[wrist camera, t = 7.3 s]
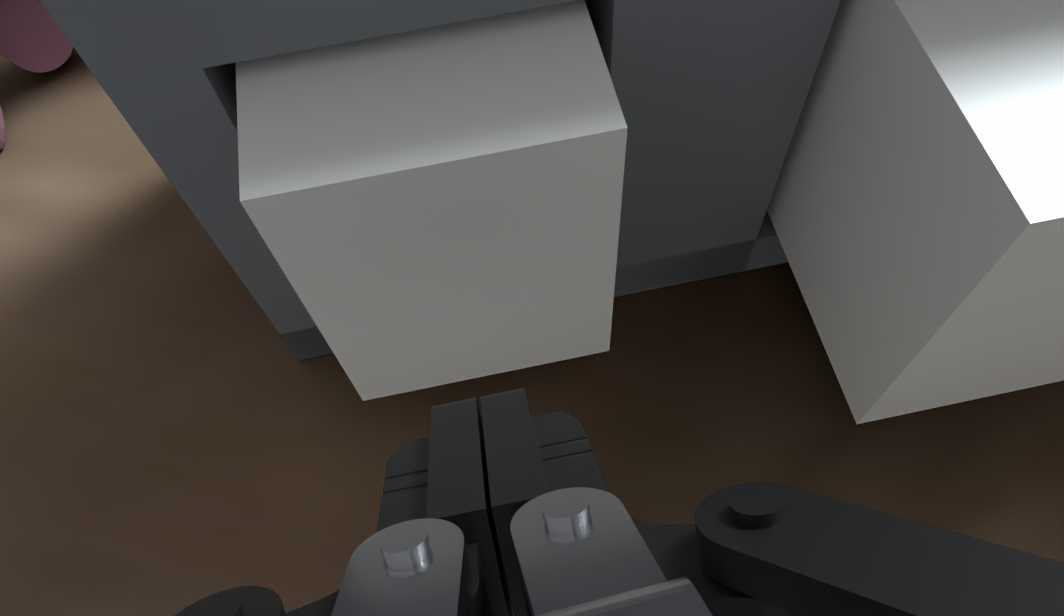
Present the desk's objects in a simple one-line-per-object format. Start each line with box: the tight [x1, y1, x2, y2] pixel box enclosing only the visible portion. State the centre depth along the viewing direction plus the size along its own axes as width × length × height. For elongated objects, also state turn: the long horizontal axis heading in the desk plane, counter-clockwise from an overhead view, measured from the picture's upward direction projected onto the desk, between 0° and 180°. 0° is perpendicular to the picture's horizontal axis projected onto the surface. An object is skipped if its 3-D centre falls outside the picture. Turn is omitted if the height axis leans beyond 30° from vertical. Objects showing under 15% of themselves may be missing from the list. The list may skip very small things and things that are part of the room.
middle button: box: [767, 0, 1064, 424], centre depth 17 cm, size 9×6×8 cm, turn 11°
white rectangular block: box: [235, 0, 627, 401], centre depth 18 cm, size 9×6×8 cm, turn 11°
